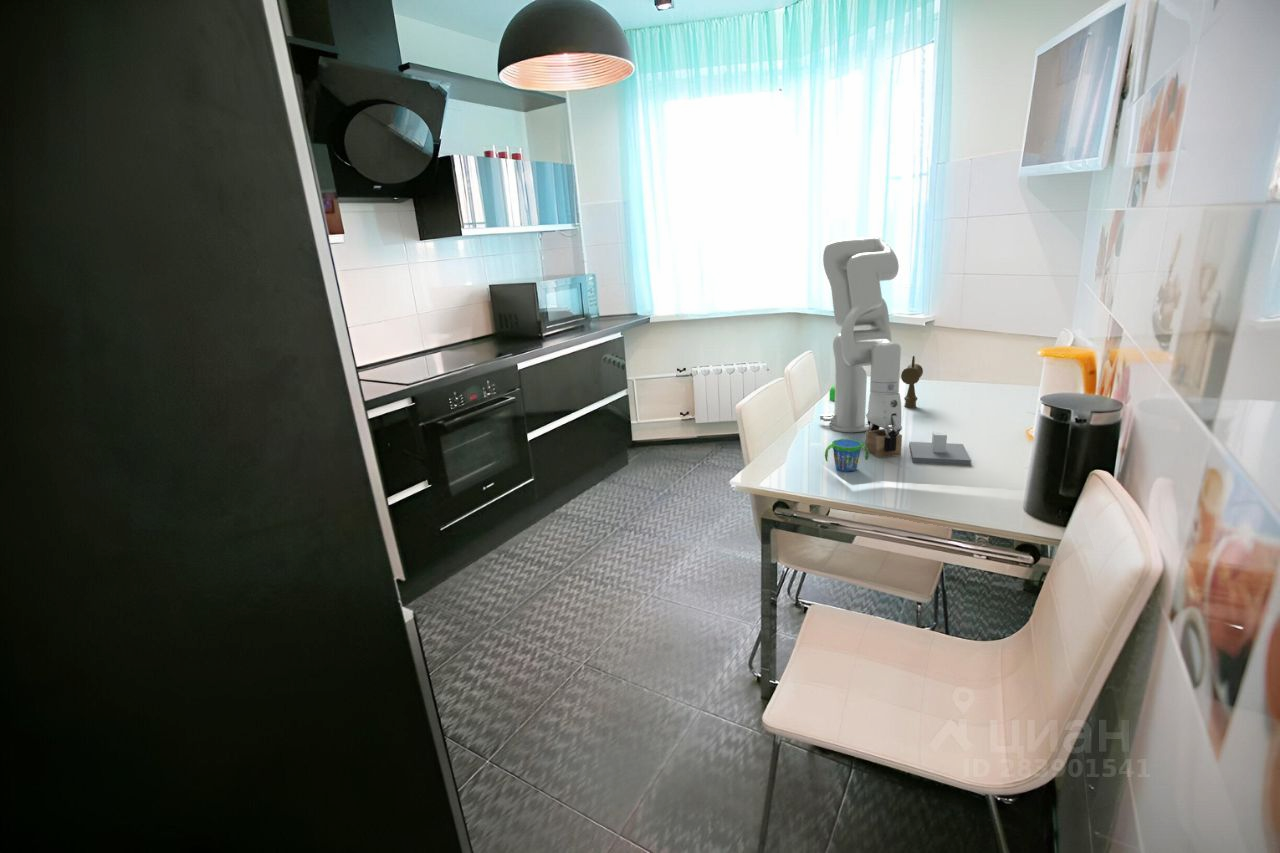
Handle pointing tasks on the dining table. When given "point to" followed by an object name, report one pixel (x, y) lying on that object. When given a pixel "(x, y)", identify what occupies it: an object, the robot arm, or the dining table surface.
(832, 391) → the mechanical part
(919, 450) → the board
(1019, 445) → the dining table surface
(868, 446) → the brown wooden square box
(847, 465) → the snack cup
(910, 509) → the dining table surface
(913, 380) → the kendama
